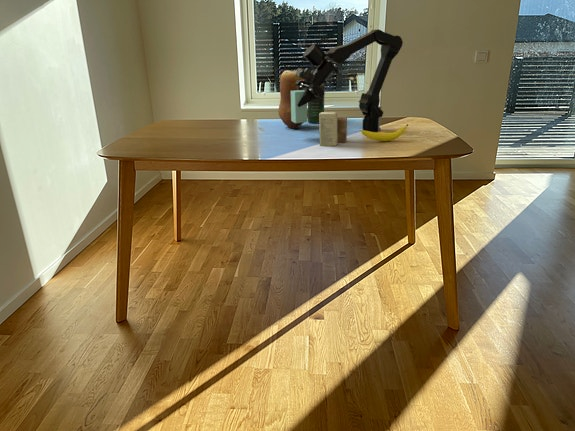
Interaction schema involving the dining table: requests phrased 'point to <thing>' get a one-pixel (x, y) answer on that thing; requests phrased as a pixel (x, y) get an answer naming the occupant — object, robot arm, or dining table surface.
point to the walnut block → (341, 130)
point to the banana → (384, 135)
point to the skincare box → (328, 128)
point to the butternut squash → (287, 97)
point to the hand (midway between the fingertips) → (295, 105)
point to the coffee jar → (315, 108)
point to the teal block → (298, 112)
